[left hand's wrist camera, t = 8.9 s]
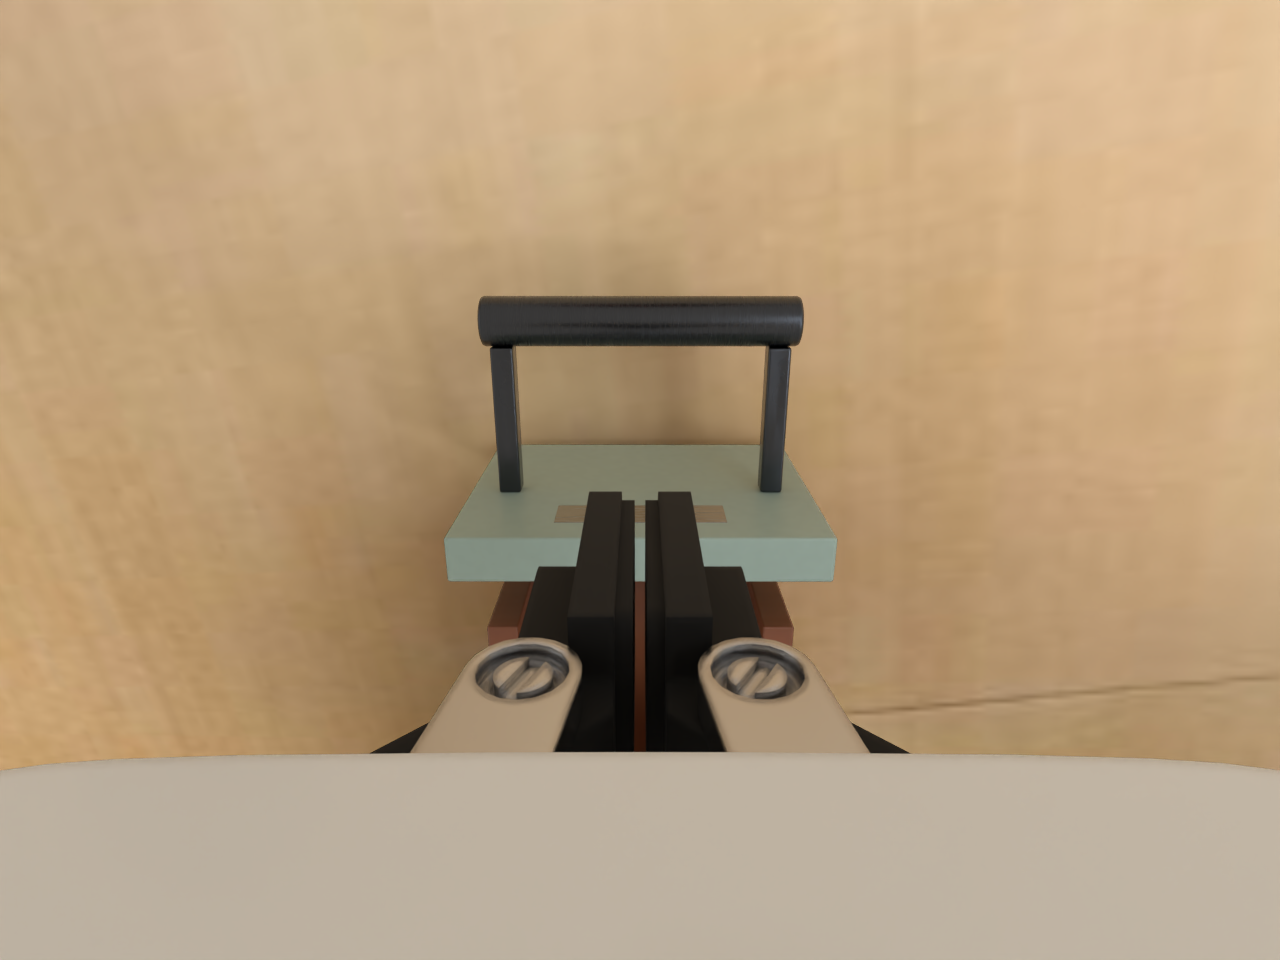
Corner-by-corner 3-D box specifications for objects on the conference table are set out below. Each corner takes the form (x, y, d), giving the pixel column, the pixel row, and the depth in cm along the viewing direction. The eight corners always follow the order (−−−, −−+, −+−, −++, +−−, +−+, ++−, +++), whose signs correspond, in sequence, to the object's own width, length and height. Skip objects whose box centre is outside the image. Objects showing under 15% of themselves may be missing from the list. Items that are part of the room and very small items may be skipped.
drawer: (488, 281, 23) (420, 313, 16) (792, 281, 23) (861, 313, 16) (526, 842, 31) (492, 1033, 24) (754, 843, 31) (788, 1033, 24)
